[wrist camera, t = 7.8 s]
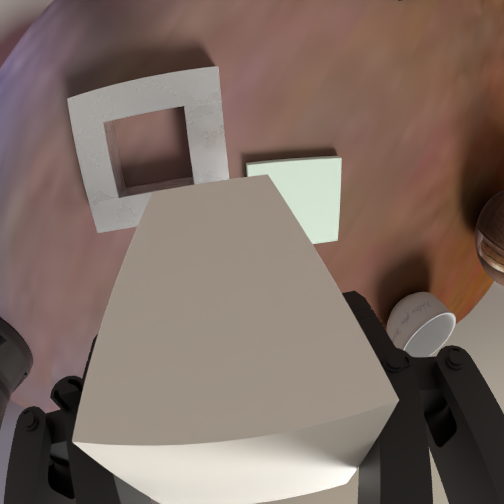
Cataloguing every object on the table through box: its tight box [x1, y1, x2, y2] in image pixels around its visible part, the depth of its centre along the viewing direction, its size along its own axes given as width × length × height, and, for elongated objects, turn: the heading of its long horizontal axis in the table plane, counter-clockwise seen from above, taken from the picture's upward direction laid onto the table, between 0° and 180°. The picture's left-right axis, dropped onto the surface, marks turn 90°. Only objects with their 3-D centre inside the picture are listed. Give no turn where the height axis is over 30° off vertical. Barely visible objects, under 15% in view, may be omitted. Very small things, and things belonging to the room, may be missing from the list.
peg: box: [72, 174, 399, 504], centre depth 11 cm, size 6×6×13 cm
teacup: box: [387, 292, 456, 357], centre depth 43 cm, size 14×11×8 cm
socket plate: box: [67, 66, 229, 233], centre depth 27 cm, size 14×14×3 cm
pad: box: [246, 156, 341, 244], centre depth 33 cm, size 10×10×1 cm
